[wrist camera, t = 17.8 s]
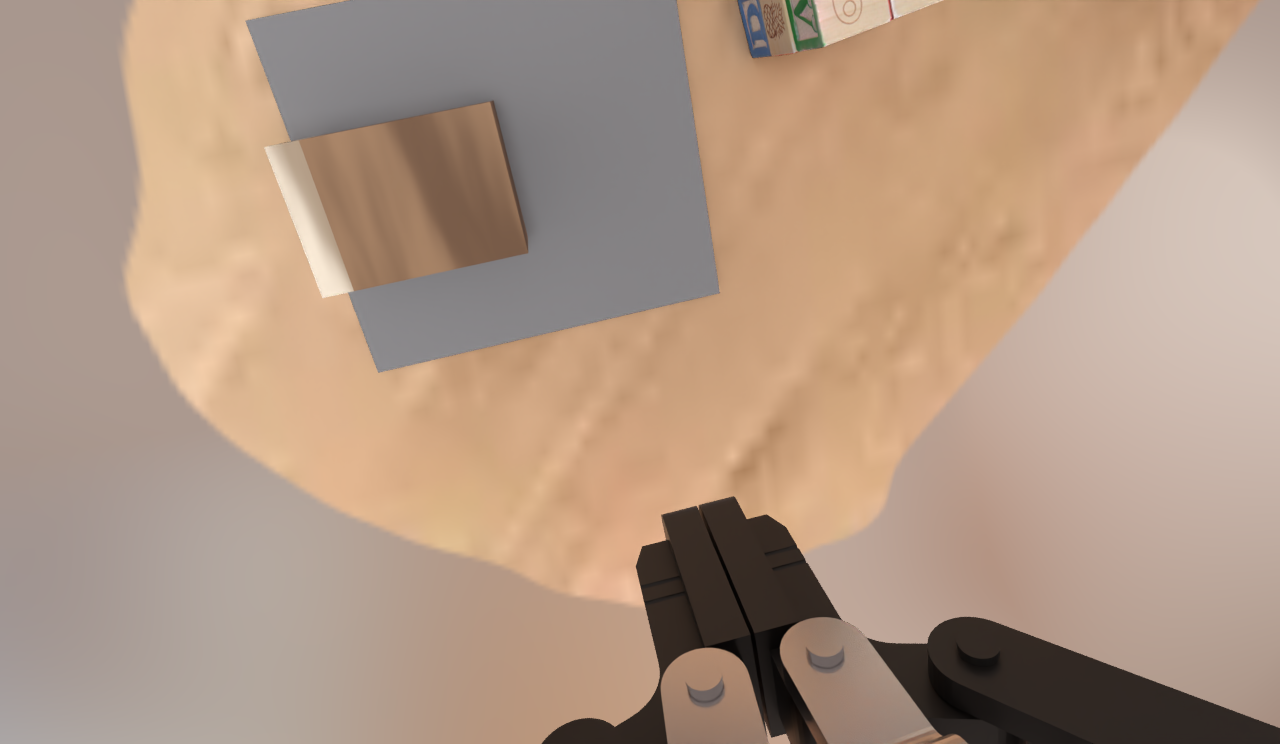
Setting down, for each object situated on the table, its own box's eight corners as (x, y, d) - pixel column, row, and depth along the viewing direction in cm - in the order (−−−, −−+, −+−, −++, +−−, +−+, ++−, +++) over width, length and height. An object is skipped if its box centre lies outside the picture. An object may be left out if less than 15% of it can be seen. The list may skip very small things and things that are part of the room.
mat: (665, -60, 33) (667, -62, 33) (718, 291, 40) (719, 293, 40) (248, 21, 32) (245, 20, 32) (379, 369, 39) (378, 372, 39)
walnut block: (489, 101, 31) (263, 147, 30) (528, 253, 34) (322, 297, 33) (493, 100, 34) (292, 141, 34) (527, 237, 37) (342, 277, 36)
